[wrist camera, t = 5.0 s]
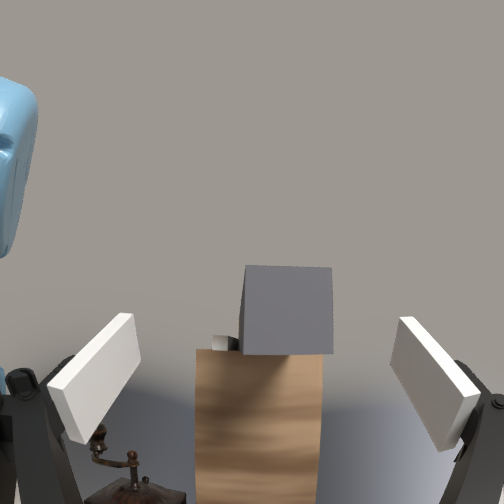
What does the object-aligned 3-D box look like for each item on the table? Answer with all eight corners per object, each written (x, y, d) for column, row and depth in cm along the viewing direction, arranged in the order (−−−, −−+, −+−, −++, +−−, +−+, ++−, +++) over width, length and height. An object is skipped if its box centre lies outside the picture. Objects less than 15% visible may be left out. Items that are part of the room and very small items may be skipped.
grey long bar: (333, 353, 13) (331, 267, 14) (243, 354, 13) (245, 265, 14) (268, 350, 40) (269, 320, 41) (238, 349, 40) (239, 319, 41)
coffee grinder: (192, 537, 29) (189, 435, 35) (167, 576, 19) (155, 461, 24) (100, 511, 31) (91, 415, 37) (62, 536, 21) (42, 425, 26)
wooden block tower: (299, 605, 14) (323, 336, 24) (203, 601, 15) (196, 334, 24) (293, 560, 24) (307, 339, 33) (215, 558, 25) (216, 338, 34)
